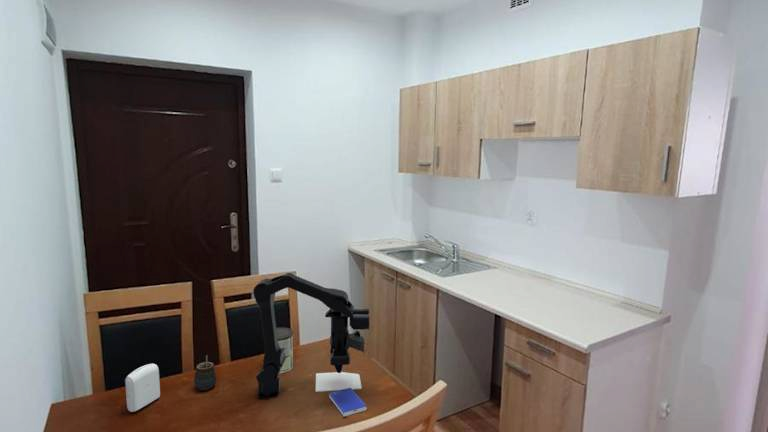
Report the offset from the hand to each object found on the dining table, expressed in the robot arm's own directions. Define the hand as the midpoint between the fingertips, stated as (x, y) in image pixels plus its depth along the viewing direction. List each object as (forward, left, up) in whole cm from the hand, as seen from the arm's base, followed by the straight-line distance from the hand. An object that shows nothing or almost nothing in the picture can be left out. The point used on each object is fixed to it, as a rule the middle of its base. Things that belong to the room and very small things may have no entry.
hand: (339, 372), depth 143 cm
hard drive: (0, -1, -7) cm, 7 cm away
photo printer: (-63, +1, -8) cm, 63 cm away
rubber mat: (0, +8, -8) cm, 11 cm away
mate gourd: (-46, +10, -8) cm, 48 cm away
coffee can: (-22, +21, -8) cm, 32 cm away
